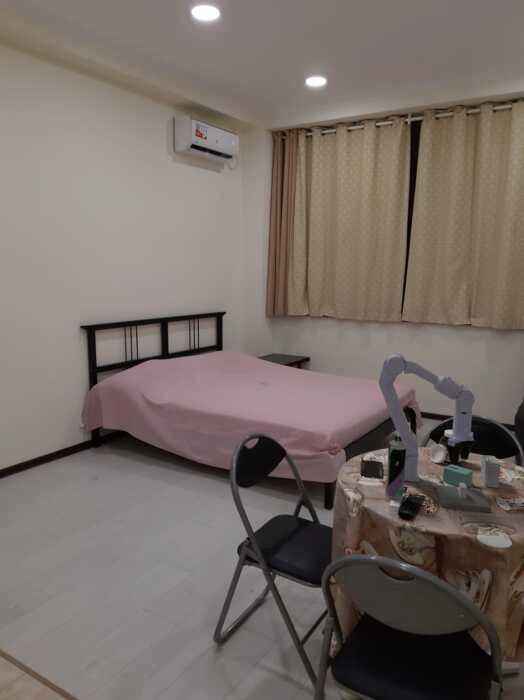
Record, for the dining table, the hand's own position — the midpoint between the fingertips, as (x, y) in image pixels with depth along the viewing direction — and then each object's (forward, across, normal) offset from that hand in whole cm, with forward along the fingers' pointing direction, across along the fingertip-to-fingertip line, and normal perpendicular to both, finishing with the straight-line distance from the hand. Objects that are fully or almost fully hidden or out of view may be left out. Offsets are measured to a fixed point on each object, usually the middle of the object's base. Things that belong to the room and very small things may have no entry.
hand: (459, 461), depth 173 cm
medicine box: (+8, +9, -7) cm, 14 cm away
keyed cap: (+8, 0, 0) cm, 8 cm away
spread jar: (+8, +17, +12) cm, 23 cm away
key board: (+8, -12, -7) cm, 16 cm away
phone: (+8, -13, +27) cm, 31 cm away
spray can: (+8, -26, +9) cm, 28 cm away
